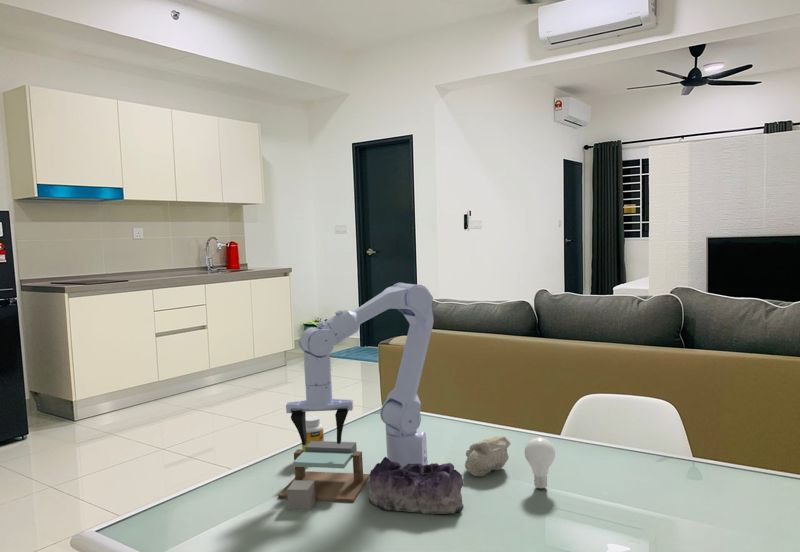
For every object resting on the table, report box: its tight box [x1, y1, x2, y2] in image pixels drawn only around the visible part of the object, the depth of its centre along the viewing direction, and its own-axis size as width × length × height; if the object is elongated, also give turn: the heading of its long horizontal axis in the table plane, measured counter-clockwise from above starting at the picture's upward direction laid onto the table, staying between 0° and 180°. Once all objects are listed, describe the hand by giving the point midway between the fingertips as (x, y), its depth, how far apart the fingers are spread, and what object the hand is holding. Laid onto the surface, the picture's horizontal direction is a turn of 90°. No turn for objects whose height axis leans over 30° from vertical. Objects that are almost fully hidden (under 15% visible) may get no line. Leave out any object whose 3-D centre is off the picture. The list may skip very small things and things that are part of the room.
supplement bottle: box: [301, 415, 325, 452], centre depth 149 cm, size 6×6×10 cm
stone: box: [286, 480, 317, 512], centre depth 123 cm, size 4×4×4 cm
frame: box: [277, 448, 370, 503], centre depth 131 cm, size 17×13×7 cm
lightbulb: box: [524, 436, 556, 490], centre depth 126 cm, size 6×6×11 cm
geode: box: [368, 456, 464, 515], centre depth 121 cm, size 20×12×10 cm, turn 81°
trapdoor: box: [292, 440, 358, 470], centre depth 133 cm, size 12×11×2 cm
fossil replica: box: [464, 435, 511, 478], centre depth 136 cm, size 12×8×10 cm
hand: (321, 442), depth 130 cm, fingers open, 7 cm apart
